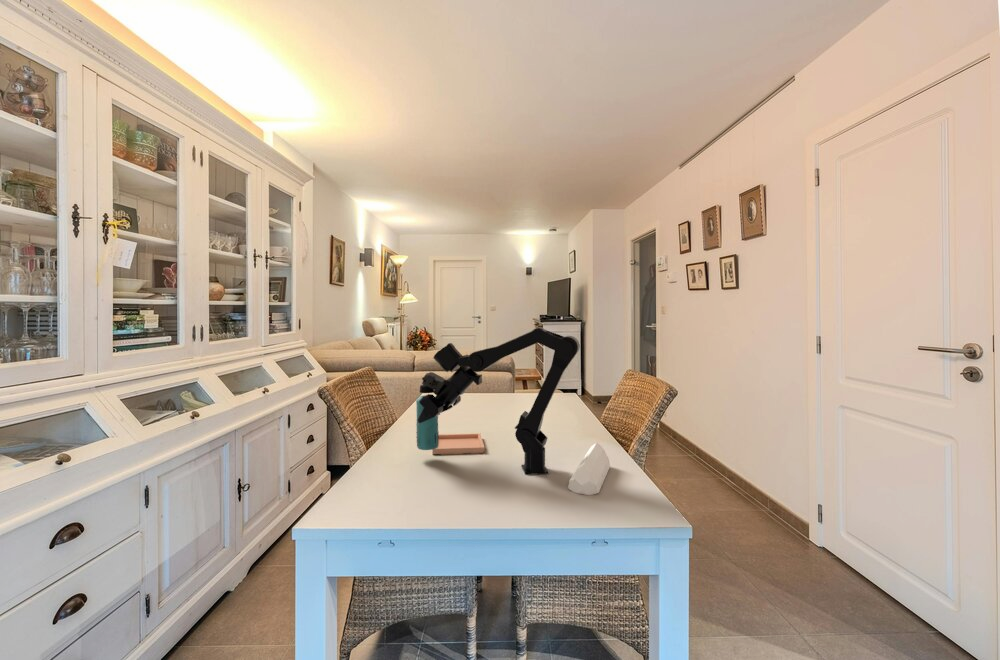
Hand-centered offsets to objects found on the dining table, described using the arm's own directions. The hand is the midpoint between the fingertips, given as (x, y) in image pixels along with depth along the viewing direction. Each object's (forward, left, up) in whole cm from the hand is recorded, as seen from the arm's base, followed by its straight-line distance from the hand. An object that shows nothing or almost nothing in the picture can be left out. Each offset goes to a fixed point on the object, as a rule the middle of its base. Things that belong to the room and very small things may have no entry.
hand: (423, 419), depth 130 cm
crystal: (-20, -45, -12) cm, 51 cm away
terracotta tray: (+12, -11, -12) cm, 20 cm away
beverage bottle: (-1, -1, -10) cm, 10 cm away
